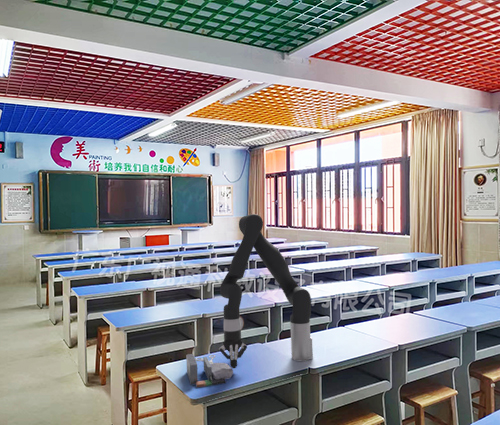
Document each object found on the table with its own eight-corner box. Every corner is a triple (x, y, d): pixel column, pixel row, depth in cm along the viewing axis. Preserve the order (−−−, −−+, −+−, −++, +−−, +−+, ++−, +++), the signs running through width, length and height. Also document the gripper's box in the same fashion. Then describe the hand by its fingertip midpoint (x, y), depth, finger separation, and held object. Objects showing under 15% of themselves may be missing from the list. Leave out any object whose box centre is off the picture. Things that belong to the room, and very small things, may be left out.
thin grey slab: (207, 369, 185) (206, 356, 185) (213, 384, 168) (213, 371, 168) (203, 369, 184) (203, 357, 184) (210, 385, 167) (209, 371, 167)
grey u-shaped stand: (218, 368, 187) (217, 350, 187) (225, 383, 170) (224, 363, 170) (187, 372, 183) (186, 354, 183) (191, 388, 166) (190, 368, 166)
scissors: (212, 353, 206) (229, 365, 188) (212, 355, 206) (229, 367, 188) (192, 358, 201) (208, 370, 183) (192, 359, 201) (208, 372, 183)
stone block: (227, 372, 186) (205, 372, 183) (228, 362, 186) (207, 361, 183) (235, 383, 175) (212, 382, 172) (236, 372, 175) (214, 371, 172)
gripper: (244, 324, 187) (246, 362, 187) (215, 327, 183) (217, 366, 183) (248, 328, 180) (250, 368, 179) (218, 332, 176) (220, 372, 176)
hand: (233, 367), depth 181 cm, fingers closed
